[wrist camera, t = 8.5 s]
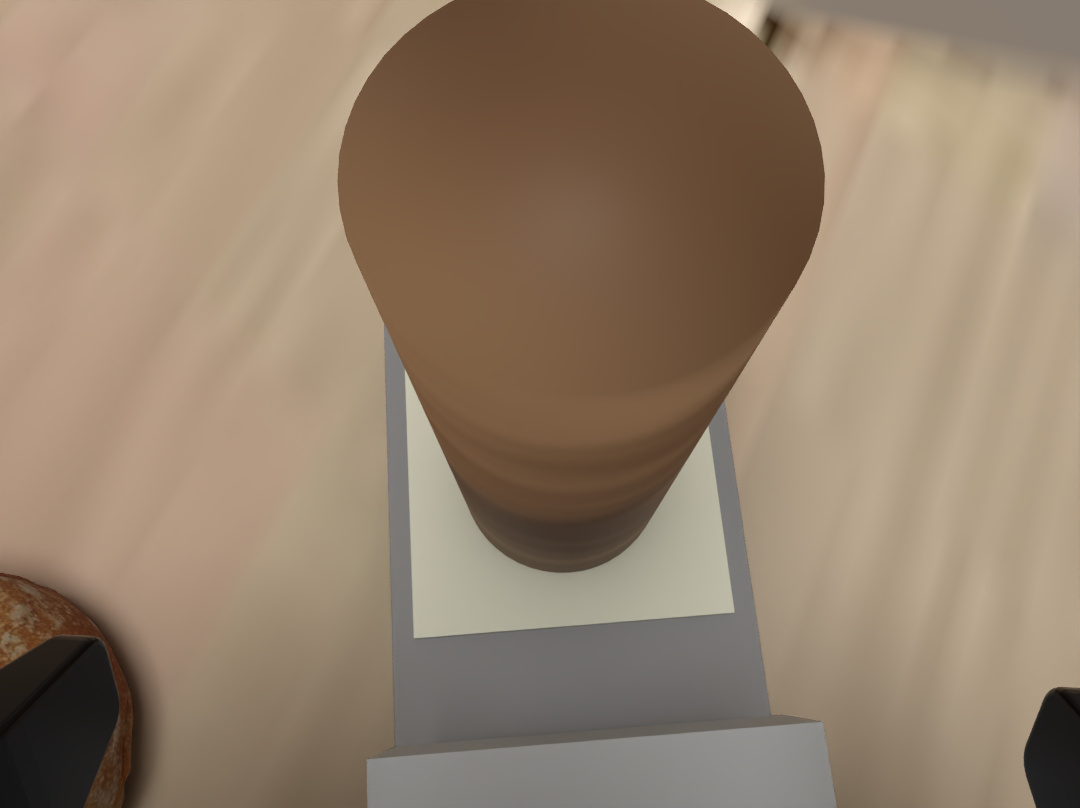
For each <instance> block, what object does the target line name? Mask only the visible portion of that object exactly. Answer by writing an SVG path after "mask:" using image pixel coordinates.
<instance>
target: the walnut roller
mask: <svg viewBox="0 0 1080 808" xmlns="http://www.w3.org/2000/svg"><path fill="white" fill-rule="evenodd" d="M824 181H825V173H824V165H823V157H822V149H821V144H820V141H819V137H818V134H817V130H816V127H815V123H814V120H813V117H812V115H811V113H810V111H809V108H808V106H807V104H806V102H805V99H804V97H803V95H802V93H801V92H800V90H799V88H798V87H797V85H796V83H795V82H794V80H793V79H792V77H791V75H790V74H789V72H788V71H787V69H786V68H785V67H784V66H783V65H782V63H781V62H780V61H779V60H778V58H777V57H776V56H775V55H774V53H773V52H772V51H771V50H770V49H769V48H768V47H767V46H766V45H765V44H764V43H763V42H762V41H761V40H760V39H759V38H758V37H757V36H756V35H755V34H753V33H752V32H751V31H750V30H749V29H748V28H746V27H745V26H744V25H742V24H741V23H740V22H738V21H737V20H736V19H734V18H733V17H732V16H730V15H729V14H728V13H726V12H724V11H723V10H721V9H719V8H717V7H716V6H714V5H712V4H711V3H709V2H707V1H705V0H454V1H452V2H450V3H448V4H446V5H445V6H443V7H442V8H440V9H438V10H437V11H435V12H434V13H432V14H431V15H429V16H427V17H426V18H425V19H423V20H422V21H421V22H420V23H418V24H417V25H416V26H415V27H413V28H412V29H411V30H410V31H408V32H407V33H406V34H405V35H404V36H403V37H402V38H401V39H400V40H399V41H398V42H397V43H396V44H395V45H394V46H393V47H392V48H391V49H390V50H389V51H388V52H387V53H386V54H385V55H384V57H383V58H382V60H381V61H380V62H379V64H378V65H377V66H376V68H375V69H374V70H373V72H372V73H371V74H370V76H369V77H368V79H367V81H366V82H365V84H364V86H363V88H362V90H361V92H360V93H359V95H358V97H357V99H356V101H355V103H354V106H353V108H352V111H351V114H350V116H349V119H348V122H347V124H346V127H345V131H344V136H343V140H342V145H341V149H340V154H339V168H338V193H339V205H340V212H341V216H342V221H343V225H344V229H345V233H346V237H347V240H348V242H349V245H350V247H351V250H352V252H353V255H354V257H355V260H356V262H357V265H358V267H359V269H360V271H361V273H362V276H363V278H364V280H365V282H366V284H367V287H368V289H369V291H370V293H371V295H372V298H373V300H374V302H375V304H376V306H377V309H378V311H379V313H380V315H381V317H382V320H383V322H384V324H385V326H386V328H387V331H388V333H389V335H390V337H391V339H392V341H393V344H394V346H395V348H396V350H397V352H398V355H399V357H400V359H401V361H402V363H403V366H404V368H405V370H406V372H407V374H408V377H409V379H410V381H411V383H412V385H413V388H414V390H415V392H416V394H417V396H418V399H419V401H420V403H421V405H422V407H423V410H424V412H425V414H426V416H427V418H428V421H429V423H430V425H431V427H432V429H433V432H434V434H435V436H436V438H437V440H438V443H439V445H440V447H441V449H442V451H443V454H444V456H445V458H446V460H447V462H448V465H449V467H450V469H451V471H452V473H453V475H454V478H455V480H456V482H457V484H458V486H459V489H460V491H461V493H462V495H463V497H464V500H465V502H466V504H467V506H468V508H469V511H470V513H471V515H472V517H473V519H474V521H475V523H476V524H477V526H478V528H479V529H480V531H481V532H482V533H483V535H484V536H485V537H486V538H487V540H488V541H489V542H490V543H491V544H492V545H493V546H494V547H495V548H496V549H498V550H499V551H500V552H502V553H503V554H504V555H506V556H507V557H509V558H511V559H512V560H514V561H516V562H518V563H520V564H522V565H525V566H527V567H530V568H533V569H537V570H541V571H547V572H555V573H570V572H577V571H584V570H587V569H591V568H594V567H597V566H599V565H602V564H604V563H606V562H608V561H610V560H612V559H613V558H615V557H617V556H618V555H620V554H621V553H622V552H623V551H625V550H626V549H627V548H628V547H630V546H631V544H632V543H633V542H634V541H635V540H636V539H637V538H638V537H639V536H640V534H641V533H642V531H643V530H644V529H645V527H646V526H647V524H648V522H649V521H650V519H651V518H652V516H653V514H654V513H655V511H656V510H657V508H658V506H659V505H660V503H661V501H662V500H663V498H664V497H665V495H666V493H667V492H668V490H669V489H670V487H671V485H672V484H673V482H674V480H675V479H676V477H677V476H678V474H679V472H680V471H681V469H682V468H683V466H684V464H685V463H686V461H687V459H688V458H689V456H690V455H691V453H692V451H693V450H694V448H695V446H696V445H697V443H698V442H699V440H700V438H701V437H702V435H703V434H704V432H705V430H706V429H707V427H708V425H709V424H710V422H711V421H712V419H713V417H714V416H715V414H716V413H717V411H718V409H719V408H720V406H721V404H722V403H723V401H724V400H725V398H726V396H727V395H728V393H729V392H730V390H731V388H732V387H733V385H734V383H735V382H736V380H737V379H738V377H739V375H740V374H741V372H742V371H743V369H744V367H745V366H746V364H747V362H748V361H749V359H750V358H751V356H752V354H753V353H754V351H755V349H756V348H757V346H758V345H759V343H760V341H761V340H762V338H763V337H764V335H765V333H766V332H767V330H768V328H769V327H770V325H771V324H772V322H773V320H774V319H775V317H776V316H777V314H778V312H779V311H780V309H781V307H782V306H783V304H784V303H785V301H786V299H787V298H788V296H789V295H790V293H791V291H792V290H793V288H794V286H795V285H796V283H797V281H798V279H799V277H800V275H801V273H802V271H803V270H804V268H805V266H806V264H807V262H808V260H809V258H810V255H811V252H812V249H813V246H814V244H815V241H816V238H817V235H818V232H819V227H820V222H821V216H822V211H823V205H824Z"/></svg>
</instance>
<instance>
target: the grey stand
mask: <svg viewBox="0 0 1080 808" xmlns="http://www.w3.org/2000/svg"><path fill="white" fill-rule="evenodd" d="M384 340H385V378H386V416H387V454H388V493H389V531H390V569H391V607H392V645H393V683H394V721H395V747H393V748H390V749H388V750H386V751H384V752H382V753H379V754H377V755H375V756H373V757H370V758H368V759H367V808H837V805H836V799H835V792H834V786H833V780H832V774H831V768H830V762H829V756H828V750H827V744H826V737H825V731H824V725H823V722H821V721H815V720H809V719H803V718H797V717H791V716H785V715H775V716H771V714H770V707H769V700H768V693H767V687H766V680H765V673H764V666H763V660H762V653H761V646H760V639H759V632H758V626H757V619H756V612H755V605H754V598H753V592H752V585H751V578H750V571H749V564H748V558H747V551H746V544H745V537H744V530H743V524H742V517H741V510H740V503H739V496H738V490H737V483H736V476H735V469H734V463H733V456H732V449H731V442H730V435H729V429H728V422H727V415H726V408H725V401H723V403H722V404H721V406H720V408H719V409H718V411H717V413H716V414H715V416H714V417H713V419H712V421H711V422H710V424H709V425H708V427H707V429H706V430H705V432H704V434H703V435H702V437H701V438H700V440H699V442H698V443H697V445H696V446H695V448H694V450H693V451H692V453H691V455H690V456H689V458H688V459H687V461H686V463H685V464H684V466H683V468H682V469H681V471H680V472H679V474H678V476H677V477H676V479H675V480H674V482H673V484H672V485H671V487H670V489H669V490H668V492H667V493H666V495H665V497H664V498H663V500H662V501H661V503H660V505H659V506H658V508H657V510H656V511H655V513H654V514H653V516H652V518H651V519H650V521H649V522H648V524H647V526H646V527H645V529H644V530H643V531H642V533H641V534H640V536H639V537H638V538H637V539H636V540H635V541H634V542H633V543H632V544H631V546H630V547H628V548H627V549H626V550H625V551H623V552H622V553H621V554H620V555H618V556H617V557H615V558H613V559H612V560H610V561H608V562H606V563H604V564H602V565H599V566H597V567H594V568H591V569H587V570H584V571H577V572H570V573H555V572H547V571H541V570H537V569H533V568H530V567H527V566H525V565H522V564H520V563H518V562H516V561H514V560H512V559H511V558H509V557H507V556H506V555H504V554H503V553H502V552H500V551H499V550H498V549H496V548H495V547H494V546H493V545H492V544H491V543H490V542H489V541H488V540H487V538H486V537H485V536H484V535H483V533H482V532H481V531H480V529H479V528H478V526H477V524H476V523H475V521H474V519H473V517H472V515H471V513H470V511H469V508H468V506H467V504H466V502H465V500H464V497H463V495H462V493H461V491H460V489H459V486H458V484H457V482H456V480H455V478H454V475H453V473H452V471H451V469H450V467H449V465H448V462H447V460H446V458H445V456H444V454H443V451H442V449H441V447H440V445H439V443H438V440H437V438H436V436H435V434H434V432H433V429H432V427H431V425H430V423H429V421H428V418H427V416H426V414H425V412H424V410H423V407H422V405H421V403H420V401H419V399H418V396H417V394H416V392H415V390H414V388H413V385H412V383H411V381H410V379H409V377H408V374H407V372H406V370H405V368H404V366H403V363H402V361H401V359H400V357H399V355H398V352H397V350H396V348H395V346H394V344H393V341H392V339H391V337H390V335H389V333H388V331H387V328H386V326H385V324H384Z"/></svg>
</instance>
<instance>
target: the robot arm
mask: <svg viewBox="0 0 1080 808" xmlns="http://www.w3.org/2000/svg"><path fill="white" fill-rule="evenodd" d="M119 712H120V698H119V693H118V689H117V685H116V681H115V677H114V673H113V670H112V666H111V662H110V658H109V654H108V650H107V647H106V645H105V643H104V642H103V641H102V640H101V639H100V638H98V637H96V636H87V635H67V634H63V635H57V636H54V637H52V638H50V639H48V640H46V641H44V642H43V643H41V644H39V645H38V646H36V647H35V648H33V649H31V650H30V651H28V652H26V653H25V654H23V655H21V656H20V657H18V658H16V659H15V660H13V661H11V662H10V663H8V664H7V665H5V666H3V667H2V668H0V808H84V807H85V804H86V802H87V799H88V797H89V794H90V791H91V789H92V786H93V784H94V781H95V779H96V776H97V773H98V771H99V768H100V766H101V763H102V761H103V758H104V756H105V753H106V750H107V748H108V745H109V743H110V740H111V738H112V735H113V732H114V730H115V727H116V724H117V721H118V717H119ZM1024 767H1025V773H1026V777H1027V780H1028V783H1029V786H1030V790H1031V793H1032V796H1033V799H1034V802H1035V805H1036V808H1080V688H1069V687H1057V688H1053V689H1052V690H1050V691H1049V692H1048V693H1047V694H1046V696H1045V698H1044V700H1043V702H1042V705H1041V708H1040V710H1039V713H1038V715H1037V718H1036V720H1035V723H1034V725H1033V728H1032V731H1031V733H1030V736H1029V738H1028V741H1027V743H1026V746H1025V751H1024Z"/></svg>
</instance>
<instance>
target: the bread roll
mask: <svg viewBox="0 0 1080 808" xmlns="http://www.w3.org/2000/svg"><path fill="white" fill-rule="evenodd" d="M63 634H67V635H87V636H96V637H98V638H100V639H101V640H102V641H103V642H104V643H105V645H106V647H107V650H108V654H109V658H110V662H111V666H112V670H113V673H114V677H115V681H116V685H117V689H118V693H119V698H120V712H119V717H118V721H117V724H116V727H115V730H114V732H113V735H112V738H111V740H110V743H109V745H108V748H107V750H106V753H105V756H104V758H103V761H102V763H101V766H100V768H99V771H98V773H97V776H96V779H95V781H94V784H93V786H92V789H91V791H90V794H89V797H88V799H87V802H86V804H85V807H84V808H122V804H123V801H124V784H125V782H126V779H127V777H128V775H129V773H130V770H131V734H132V728H133V722H134V715H133V706H132V698H131V693H130V690H129V687H128V685H127V682H126V679H125V677H124V674H123V672H122V670H121V668H120V666H119V664H118V662H117V659H116V657H115V655H114V653H113V650H112V649H111V647H110V646H109V644H108V643H107V641H106V639H105V638H104V636H103V635H102V633H101V632H100V631H99V629H98V628H97V626H96V625H95V624H94V623H93V622H92V621H91V620H90V619H89V618H88V617H87V616H86V615H85V614H83V613H82V612H81V611H80V610H79V609H77V608H76V607H75V606H74V605H72V604H71V603H70V602H69V601H68V600H66V599H65V598H64V597H63V596H61V595H60V594H59V593H57V592H56V591H54V590H51V589H48V588H45V587H41V586H39V585H37V584H35V583H33V582H31V581H29V580H27V579H25V578H22V577H20V576H15V575H10V574H4V573H0V668H2V667H3V666H5V665H7V664H8V663H10V662H11V661H13V660H15V659H16V658H18V657H20V656H21V655H23V654H25V653H26V652H28V651H30V650H31V649H33V648H35V647H36V646H38V645H39V644H41V643H43V642H44V641H46V640H48V639H50V638H52V637H54V636H57V635H63Z"/></svg>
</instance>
